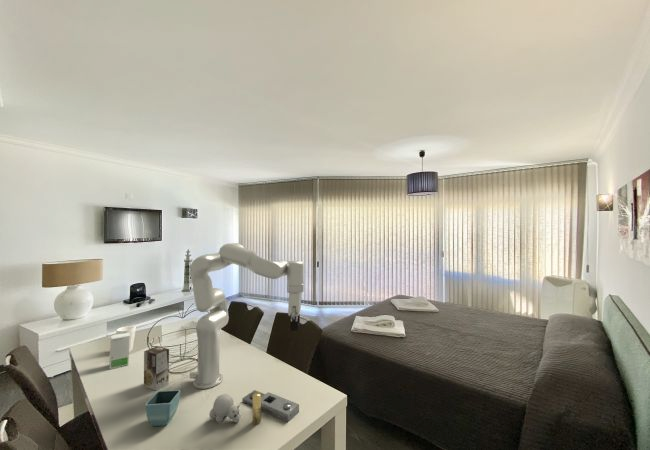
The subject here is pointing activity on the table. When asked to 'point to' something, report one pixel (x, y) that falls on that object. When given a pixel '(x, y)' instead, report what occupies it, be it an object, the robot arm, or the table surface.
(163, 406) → the flower pot
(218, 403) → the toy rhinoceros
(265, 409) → the grey flat bar
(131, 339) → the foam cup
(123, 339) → the skincare box
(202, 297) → the robot arm
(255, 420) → the pin
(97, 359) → the table surface
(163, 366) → the coffee box
